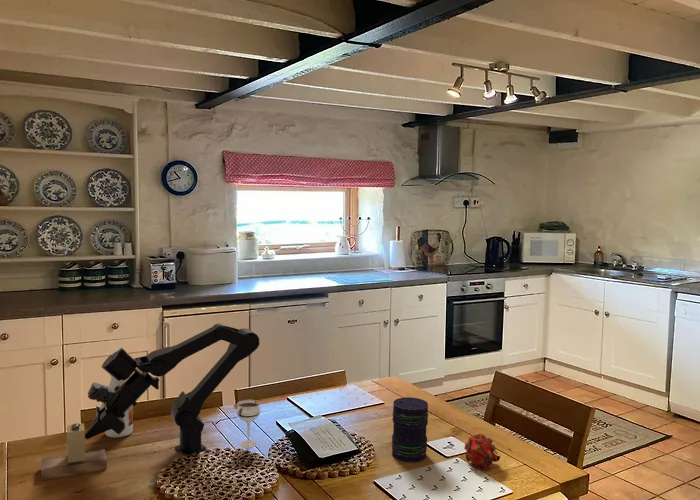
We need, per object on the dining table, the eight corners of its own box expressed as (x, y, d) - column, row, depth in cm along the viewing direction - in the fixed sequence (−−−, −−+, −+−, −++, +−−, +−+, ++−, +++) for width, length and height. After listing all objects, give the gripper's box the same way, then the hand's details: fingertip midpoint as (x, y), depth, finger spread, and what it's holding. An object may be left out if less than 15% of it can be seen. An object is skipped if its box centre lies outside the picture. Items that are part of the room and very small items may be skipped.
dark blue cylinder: (429, 451, 165) (431, 400, 164) (422, 465, 156) (424, 411, 154) (396, 445, 168) (397, 395, 167) (387, 459, 159) (388, 406, 158)
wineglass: (264, 442, 168) (265, 401, 167) (251, 450, 162) (251, 409, 161) (245, 437, 171) (245, 398, 170) (231, 446, 165) (231, 405, 164)
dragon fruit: (473, 459, 164) (490, 485, 152) (452, 444, 162) (466, 469, 150) (492, 436, 163) (510, 461, 152) (471, 421, 161) (487, 445, 149)
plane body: (104, 458, 156) (104, 449, 155) (106, 469, 149) (106, 459, 149) (41, 468, 149) (41, 459, 149) (41, 480, 143) (40, 470, 142)
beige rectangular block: (84, 452, 152) (83, 420, 151) (85, 460, 148) (84, 427, 147) (67, 455, 150) (66, 422, 150) (67, 463, 146) (67, 429, 145)
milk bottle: (123, 439, 168) (122, 372, 166) (99, 436, 169) (98, 370, 168) (138, 429, 175) (137, 365, 174) (115, 427, 177) (114, 363, 175)
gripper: (104, 363, 159) (60, 407, 155) (110, 382, 143) (61, 432, 138) (135, 387, 163) (92, 431, 159) (144, 409, 147) (97, 458, 143)
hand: (85, 437), depth 150 cm, fingers closed, pressing on beige rectangular block
